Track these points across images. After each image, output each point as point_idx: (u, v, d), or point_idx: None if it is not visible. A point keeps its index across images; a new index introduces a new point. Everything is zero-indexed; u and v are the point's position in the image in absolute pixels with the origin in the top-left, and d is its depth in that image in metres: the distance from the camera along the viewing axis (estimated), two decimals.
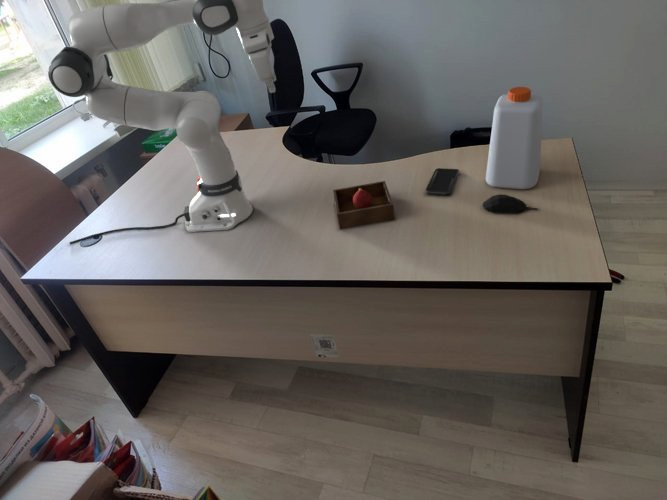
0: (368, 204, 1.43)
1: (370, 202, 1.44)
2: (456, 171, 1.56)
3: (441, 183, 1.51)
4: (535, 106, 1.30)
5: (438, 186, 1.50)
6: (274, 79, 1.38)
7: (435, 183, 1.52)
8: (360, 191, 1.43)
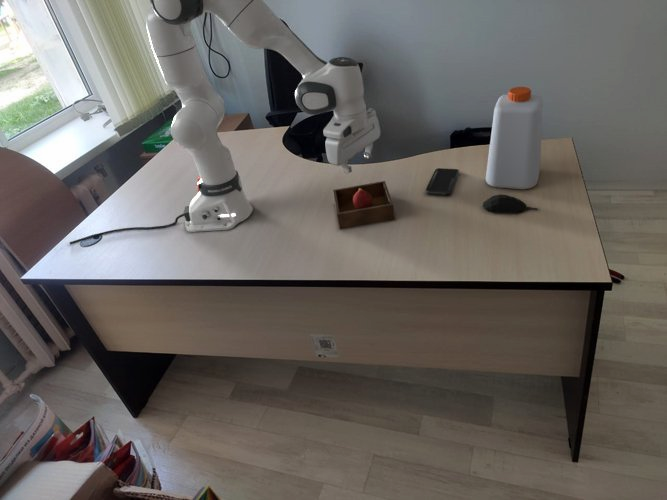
0: (368, 204, 1.43)
1: (370, 202, 1.44)
2: (456, 171, 1.56)
3: (441, 183, 1.51)
4: (535, 106, 1.30)
5: (438, 186, 1.50)
6: (367, 157, 1.39)
7: (435, 183, 1.52)
8: (360, 191, 1.43)
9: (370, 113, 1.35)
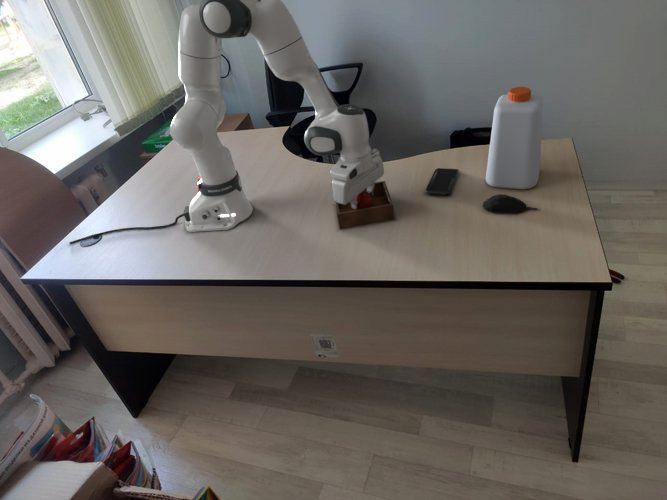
0: (368, 204, 1.43)
1: (370, 202, 1.44)
2: (456, 171, 1.56)
3: (441, 183, 1.51)
4: (535, 106, 1.30)
5: (438, 186, 1.50)
6: None
7: (435, 183, 1.52)
8: None
9: (374, 154, 1.42)
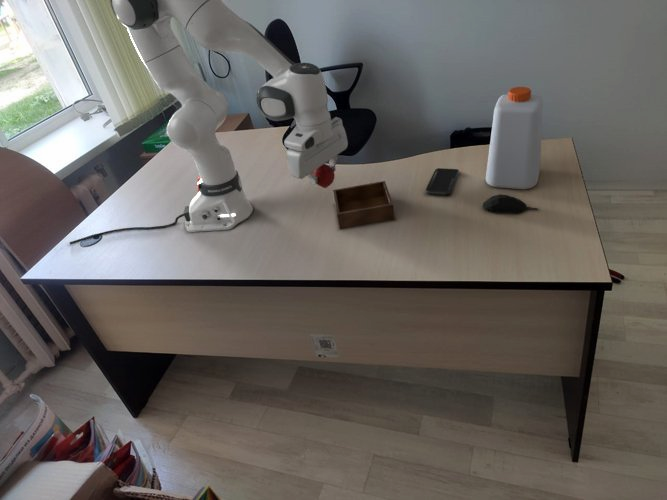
0: (330, 179, 1.28)
1: (332, 177, 1.28)
2: (456, 171, 1.56)
3: (441, 183, 1.51)
4: (535, 106, 1.30)
5: (438, 186, 1.50)
6: None
7: (435, 183, 1.52)
8: None
9: (336, 123, 1.26)
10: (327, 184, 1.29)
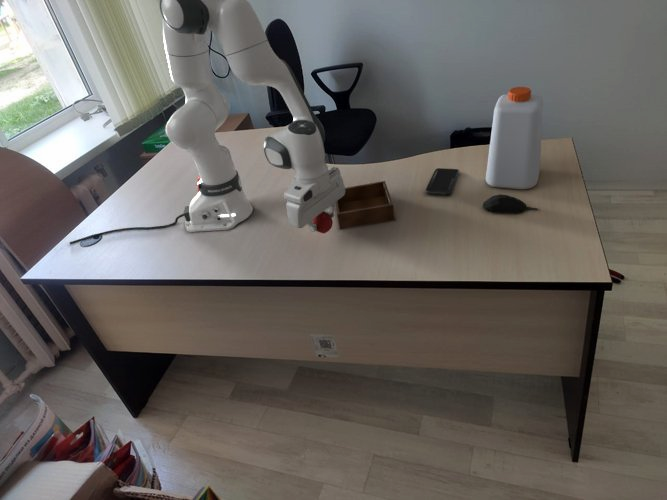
0: (328, 226, 1.33)
1: (330, 224, 1.34)
2: (456, 171, 1.56)
3: (441, 183, 1.51)
4: (535, 106, 1.30)
5: (438, 186, 1.50)
6: None
7: (435, 183, 1.52)
8: None
9: (334, 172, 1.32)
10: (325, 230, 1.34)
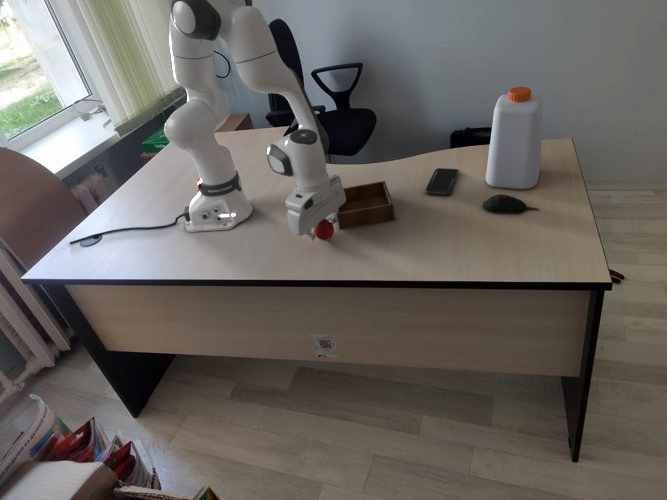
0: (329, 234, 1.35)
1: (332, 231, 1.35)
2: (456, 171, 1.56)
3: (441, 183, 1.51)
4: (535, 106, 1.30)
5: (438, 186, 1.50)
6: (332, 222, 1.38)
7: (435, 183, 1.52)
8: None
9: (334, 180, 1.33)
10: (327, 238, 1.36)
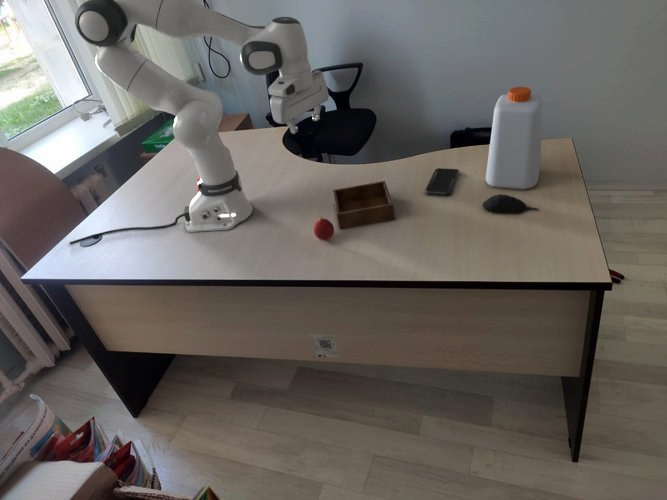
0: (329, 234, 1.35)
1: (332, 231, 1.35)
2: (456, 171, 1.56)
3: (441, 183, 1.51)
4: (535, 106, 1.30)
5: (438, 186, 1.50)
6: (315, 119, 1.44)
7: (435, 183, 1.52)
8: (321, 220, 1.34)
9: (317, 75, 1.39)
10: (327, 238, 1.36)
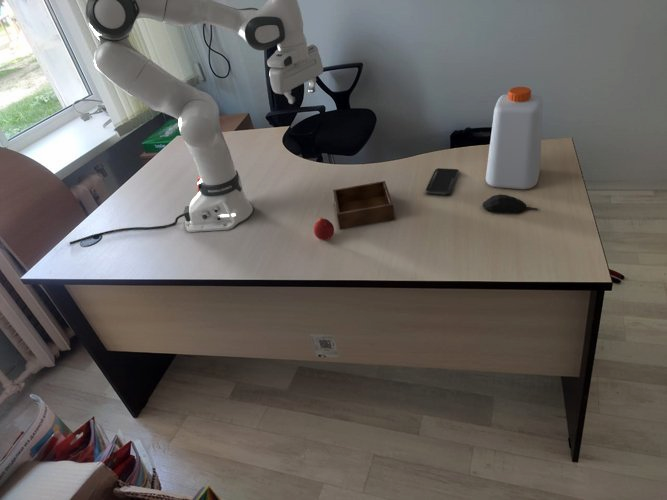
0: (329, 234, 1.35)
1: (332, 231, 1.35)
2: (456, 171, 1.56)
3: (441, 183, 1.51)
4: (535, 106, 1.30)
5: (438, 186, 1.50)
6: (311, 91, 1.54)
7: (435, 183, 1.52)
8: (321, 220, 1.34)
9: (312, 49, 1.49)
10: (327, 238, 1.36)
